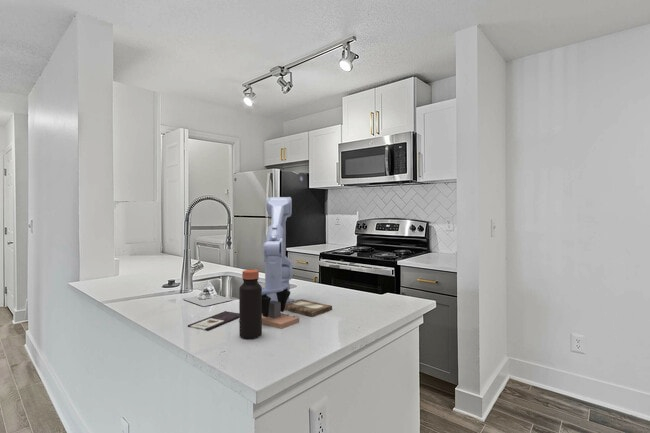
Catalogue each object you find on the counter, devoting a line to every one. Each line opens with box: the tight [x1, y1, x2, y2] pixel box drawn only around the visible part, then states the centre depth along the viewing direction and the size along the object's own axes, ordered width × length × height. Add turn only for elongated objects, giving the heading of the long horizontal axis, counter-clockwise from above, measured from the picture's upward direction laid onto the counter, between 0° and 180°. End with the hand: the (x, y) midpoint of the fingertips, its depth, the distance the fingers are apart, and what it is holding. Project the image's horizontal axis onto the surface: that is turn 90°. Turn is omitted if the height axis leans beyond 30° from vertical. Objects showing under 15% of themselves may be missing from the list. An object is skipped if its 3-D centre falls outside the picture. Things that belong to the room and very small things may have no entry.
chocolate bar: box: [187, 310, 239, 332], centre depth 126 cm, size 9×1×18 cm
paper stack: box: [167, 294, 234, 307], centre depth 152 cm, size 23×25×1 cm
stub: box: [262, 300, 300, 330], centre depth 126 cm, size 16×9×6 cm, turn 52°
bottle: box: [238, 269, 263, 340], centre depth 111 cm, size 7×7×20 cm
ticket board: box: [284, 298, 333, 318], centre depth 140 cm, size 16×12×2 cm
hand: (273, 313), depth 126 cm, fingers open, 7 cm apart
